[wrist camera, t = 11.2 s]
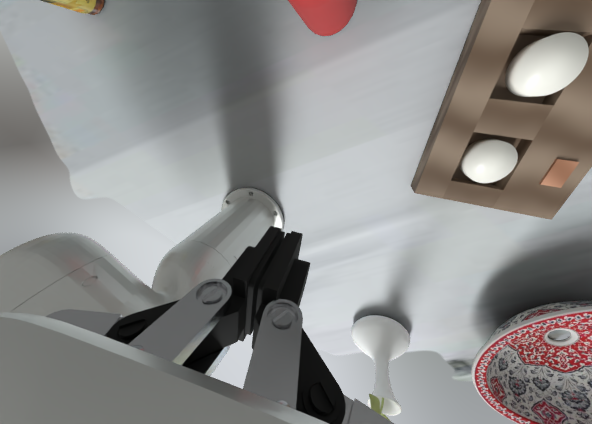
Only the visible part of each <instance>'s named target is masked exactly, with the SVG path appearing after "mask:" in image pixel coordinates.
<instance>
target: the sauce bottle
mask: <svg viewBox="0 0 592 424" xmlns="http://www.w3.org/2000/svg"><path fill="white" fill-rule="evenodd" d="M41 1H44V2H47V3H51V4H54V5H57V6H60V7H64V8H67V9H70V10H74V11H77V12H80V13H88V14H92V15H95V14H98V13H99V12H100V11H101V10H102V8H103V5H104V0H41Z"/></svg>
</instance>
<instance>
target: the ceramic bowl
mask: <svg viewBox="0 0 592 424" xmlns="http://www.w3.org/2000/svg"><path fill="white" fill-rule="evenodd" d="M554 330H567V331H569V332H570V334H571V335H570V337H568V338H567V339H564V340H551V339H549V338H548V337H547V335H548V333H549V332H551V331H554ZM472 380H473V383H474V386H475V388H476V390H477V391H478V393H479V395H480V396H481V397H482V398H483V400H484V401H485V402H486V403H487V404H488V405H489V406H490V407H492V408H493V409H494V410H495V411H497V412H498V413H500V414H501V415H503V416H505V417H506V418H508V419H510V420H512V421H514V422H516V423H518V424H592V301H568V302H558V303H552V304H547V305H542V306H539V307H535V308H532V309H529V310H526V311H524V312H521V313H519V314H517V315H515V316H514V317H512V318H510V319H509V320H507V321H506V322H504V323H503V324H502V325H501V326H500V327H498V328H497V330H496V331H495V332H494V333H493V334H492V336H491V337H490V339H489V340H488V342H486V343H485V344H484V346H483V347H482V348H481V349H480V350H479V352H478V353H477V355H476V357H475V359H474V361H473V364H472Z"/></svg>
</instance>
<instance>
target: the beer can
mask: <svg viewBox="0 0 592 424" xmlns="http://www.w3.org/2000/svg"><path fill="white" fill-rule="evenodd" d="M288 1H289V2H290V4H291V5H292V6H293V8H294V9H295V10H296V12H297V13H298V14H299V16H300V17H301V18H302V20H303V21H304V22H305V24H306V25H307V26H308V28H309V29H310V30H312V31H313V32H314V33H315V34H318V35H321V36H330V35H333V34H335V33H337V32H339V31H340V30H341V29H343V28H344V27H345V26H346V25H347V23H348V22H349V20H350V19H351V17H352V15H353V13H354V10H355V7H356V4H357V0H288Z"/></svg>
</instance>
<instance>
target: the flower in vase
mask: <svg viewBox="0 0 592 424" xmlns="http://www.w3.org/2000/svg"><path fill="white" fill-rule="evenodd" d="M351 335H352V338H353V341H354V343H355V344H356V345H357V346H358V347H359V349H360V350H361V351H363V352H364V353H365V354H367V355H368V356H370V357H371V358H372V359H373V360H374V364H375V386H374V391H373V393H372V394H369V397H370V398H369V399H368V405H369V407H370V408H371V409H372V410H374V411H375V412H377V413H378V414H380V415H382V416H383V417H385V418H386V419H388V418H387V417H386V416H385V415H390V416H393V415H398V414H399V413H400V412H401V411H402V409H401V406H400V405H399V403H398V402H397V400H396V399H395V397H394V395H393V392H392V389H391V385H390V380H389V373H388V365H389V362H390V361H391V360H393V359H395V358H397V357H399V356H401V355H402V354H403V353H405V352H406V351H407V349H408V347H409V344H410V336H409V333H408V332H407V330H406V329H405V328H404V327H403V326H402V325H401V324H400V323H398V322H397V321H395V320H393V319H391V318H388V317H384V316H378V315H371V316H366V317H363V318H361V319H359V320H357V321H356V322H355V323H354V325H353V326H352V328H351ZM388 420H389V419H388ZM389 421H390V420H389Z"/></svg>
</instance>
